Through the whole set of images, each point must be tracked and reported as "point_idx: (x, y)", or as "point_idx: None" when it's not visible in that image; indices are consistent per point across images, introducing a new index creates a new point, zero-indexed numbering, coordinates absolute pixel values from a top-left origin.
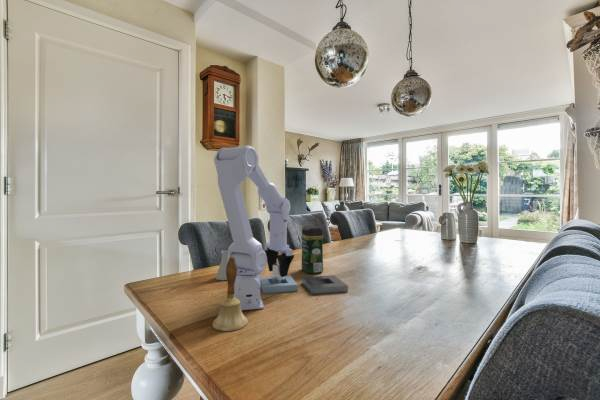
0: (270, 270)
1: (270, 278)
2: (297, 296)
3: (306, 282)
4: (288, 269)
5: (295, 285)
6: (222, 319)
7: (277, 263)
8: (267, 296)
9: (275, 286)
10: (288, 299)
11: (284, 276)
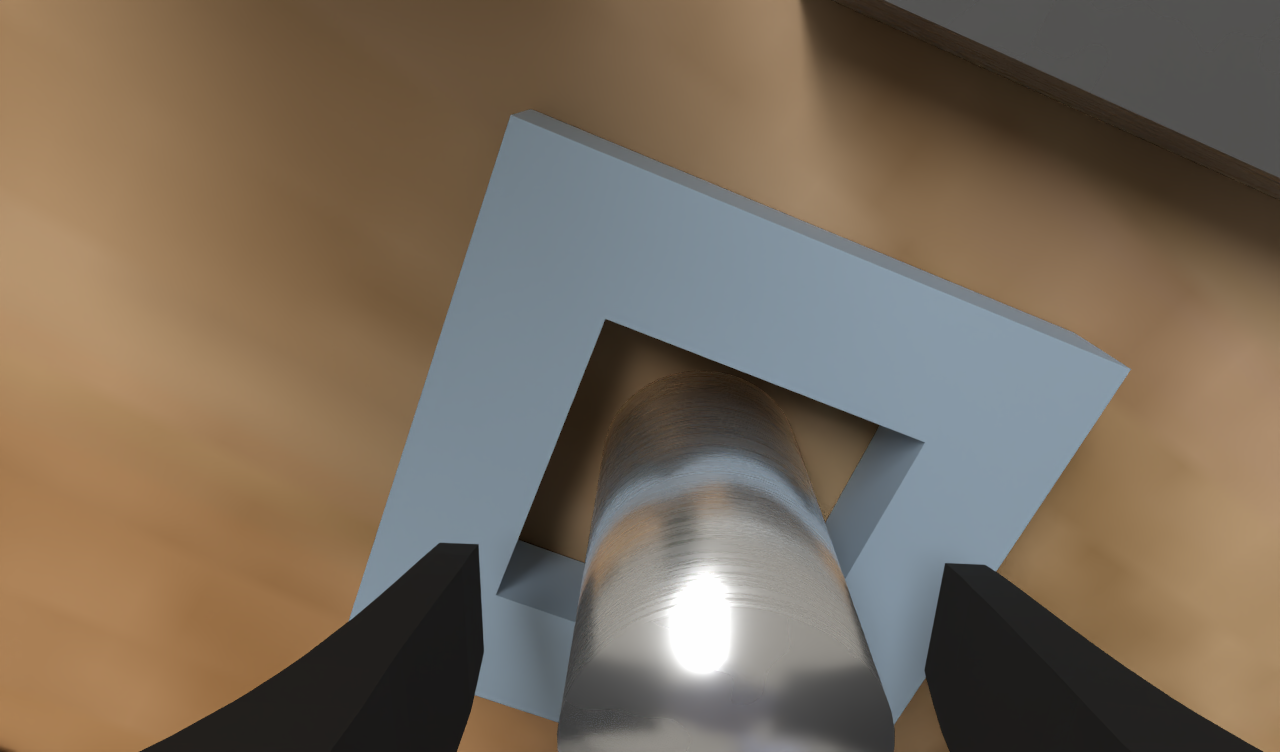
0: (478, 658)
1: (505, 551)
2: (1241, 471)
3: (1147, 119)
4: (1083, 640)
5: (1099, 402)
6: None
7: (600, 715)
8: (934, 748)
9: (919, 684)
10: (1219, 619)
11: (787, 473)
